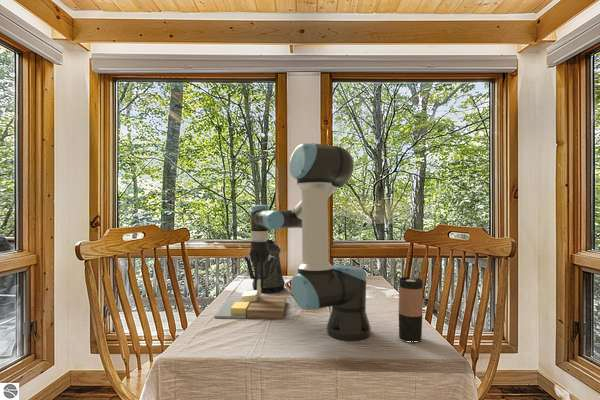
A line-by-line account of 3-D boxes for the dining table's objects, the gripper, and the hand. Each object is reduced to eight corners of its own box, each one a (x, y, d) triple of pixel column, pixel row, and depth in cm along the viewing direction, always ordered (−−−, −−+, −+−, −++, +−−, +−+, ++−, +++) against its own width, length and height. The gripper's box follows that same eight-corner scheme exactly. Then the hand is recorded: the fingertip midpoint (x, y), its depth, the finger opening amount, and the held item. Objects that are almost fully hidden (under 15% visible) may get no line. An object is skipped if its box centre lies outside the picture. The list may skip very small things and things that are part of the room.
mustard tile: (245, 314, 148) (245, 308, 148) (230, 314, 148) (230, 308, 148) (249, 308, 157) (249, 302, 157) (235, 307, 157) (235, 301, 157)
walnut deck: (282, 318, 146) (282, 310, 146) (246, 317, 146) (246, 310, 146) (286, 302, 168) (286, 295, 168) (255, 302, 168) (255, 295, 168)
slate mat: (245, 318, 145) (245, 316, 145) (214, 318, 146) (214, 316, 146) (254, 301, 169) (254, 299, 169) (228, 301, 170) (228, 299, 170)
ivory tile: (256, 301, 159) (255, 295, 159) (241, 302, 159) (241, 296, 159) (259, 295, 168) (258, 289, 168) (245, 296, 168) (245, 291, 168)
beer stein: (281, 294, 183) (281, 242, 183) (242, 292, 186) (242, 241, 186) (287, 286, 199) (288, 239, 199) (252, 284, 202) (252, 238, 202)
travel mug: (406, 344, 121) (407, 282, 121) (394, 336, 128) (394, 277, 128) (427, 342, 123) (427, 281, 123) (413, 334, 131) (414, 276, 130)
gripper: (275, 239, 166) (274, 293, 167) (246, 239, 167) (245, 292, 167) (273, 241, 159) (273, 297, 159) (242, 241, 159) (242, 297, 160)
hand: (259, 295), depth 163 cm, fingers closed
